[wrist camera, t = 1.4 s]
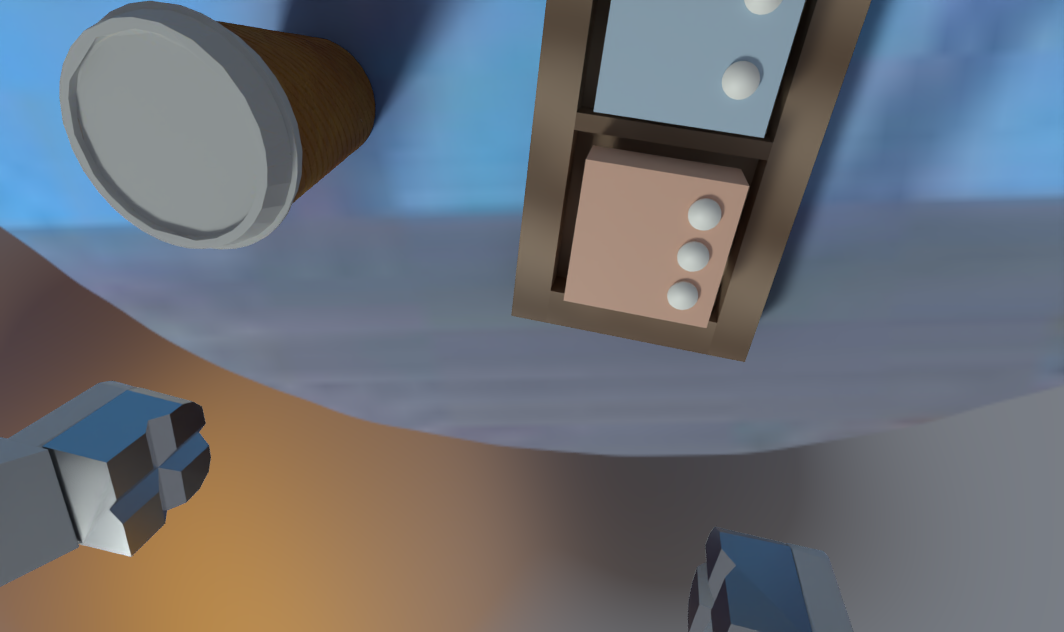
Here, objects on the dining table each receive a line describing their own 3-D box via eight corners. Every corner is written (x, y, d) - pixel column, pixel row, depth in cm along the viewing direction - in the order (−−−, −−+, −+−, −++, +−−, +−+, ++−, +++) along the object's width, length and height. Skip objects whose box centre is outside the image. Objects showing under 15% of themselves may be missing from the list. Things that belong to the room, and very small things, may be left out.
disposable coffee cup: (375, -15, 29) (217, -26, 19) (422, 174, 33) (313, 249, 23) (217, 20, 32) (-1, 28, 21) (279, 192, 36) (122, 268, 25)
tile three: (592, 145, 28) (585, 160, 25) (741, 168, 27) (749, 187, 24) (571, 276, 31) (562, 302, 29) (702, 300, 31) (706, 330, 28)
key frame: (615, -484, 21) (607, -555, 18) (1008, -471, 19) (1062, -546, 17) (522, 293, 36) (511, 315, 33) (738, 334, 34) (744, 361, 32)
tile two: (629, -79, 24) (625, -90, 21) (807, -59, 23) (826, -68, 20) (600, 101, 27) (593, 112, 24) (753, 124, 26) (764, 138, 24)
